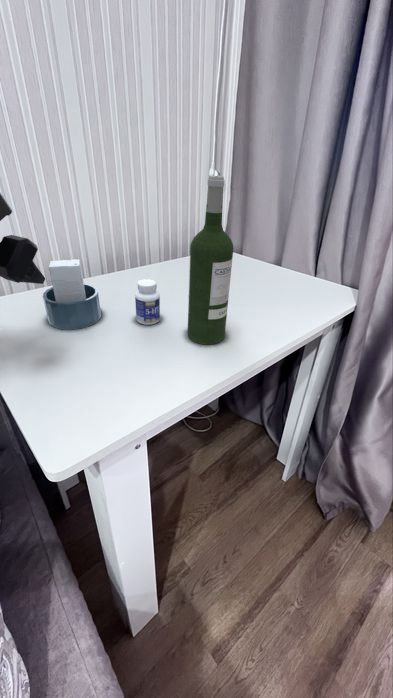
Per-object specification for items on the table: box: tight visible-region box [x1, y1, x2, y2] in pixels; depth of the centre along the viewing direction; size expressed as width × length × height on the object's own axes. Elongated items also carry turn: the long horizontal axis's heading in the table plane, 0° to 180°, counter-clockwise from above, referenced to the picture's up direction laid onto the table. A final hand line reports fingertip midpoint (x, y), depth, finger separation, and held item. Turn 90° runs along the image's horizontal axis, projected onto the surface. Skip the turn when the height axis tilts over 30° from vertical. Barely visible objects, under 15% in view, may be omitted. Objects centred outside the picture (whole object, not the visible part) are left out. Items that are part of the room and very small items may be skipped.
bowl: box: [42, 283, 102, 330], centre depth 73 cm, size 11×11×6 cm
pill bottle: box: [134, 278, 161, 326], centre depth 73 cm, size 5×5×9 cm
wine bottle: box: [187, 175, 234, 346], centre depth 62 cm, size 8×8×30 cm
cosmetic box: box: [48, 259, 86, 303], centre depth 71 cm, size 6×4×12 cm
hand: (24, 275), depth 58 cm, fingers open, 9 cm apart
